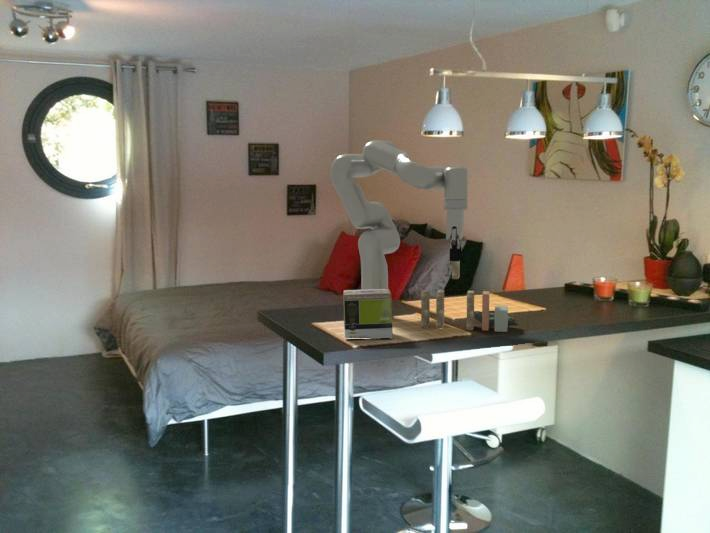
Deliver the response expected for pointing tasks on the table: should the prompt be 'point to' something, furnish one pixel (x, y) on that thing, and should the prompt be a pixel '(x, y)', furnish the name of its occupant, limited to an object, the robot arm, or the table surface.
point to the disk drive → (492, 317)
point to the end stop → (501, 318)
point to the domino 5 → (485, 310)
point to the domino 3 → (456, 268)
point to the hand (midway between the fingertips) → (455, 259)
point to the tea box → (368, 313)
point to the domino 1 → (425, 308)
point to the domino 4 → (470, 310)
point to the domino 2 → (440, 309)
